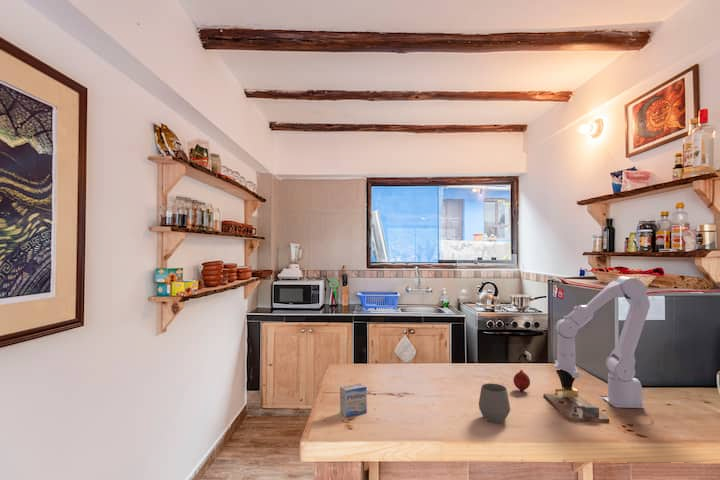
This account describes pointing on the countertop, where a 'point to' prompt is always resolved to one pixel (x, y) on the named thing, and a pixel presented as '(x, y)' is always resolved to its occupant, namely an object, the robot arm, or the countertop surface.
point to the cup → (494, 402)
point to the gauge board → (576, 408)
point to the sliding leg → (568, 392)
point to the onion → (521, 380)
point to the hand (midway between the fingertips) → (566, 391)
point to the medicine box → (353, 400)
